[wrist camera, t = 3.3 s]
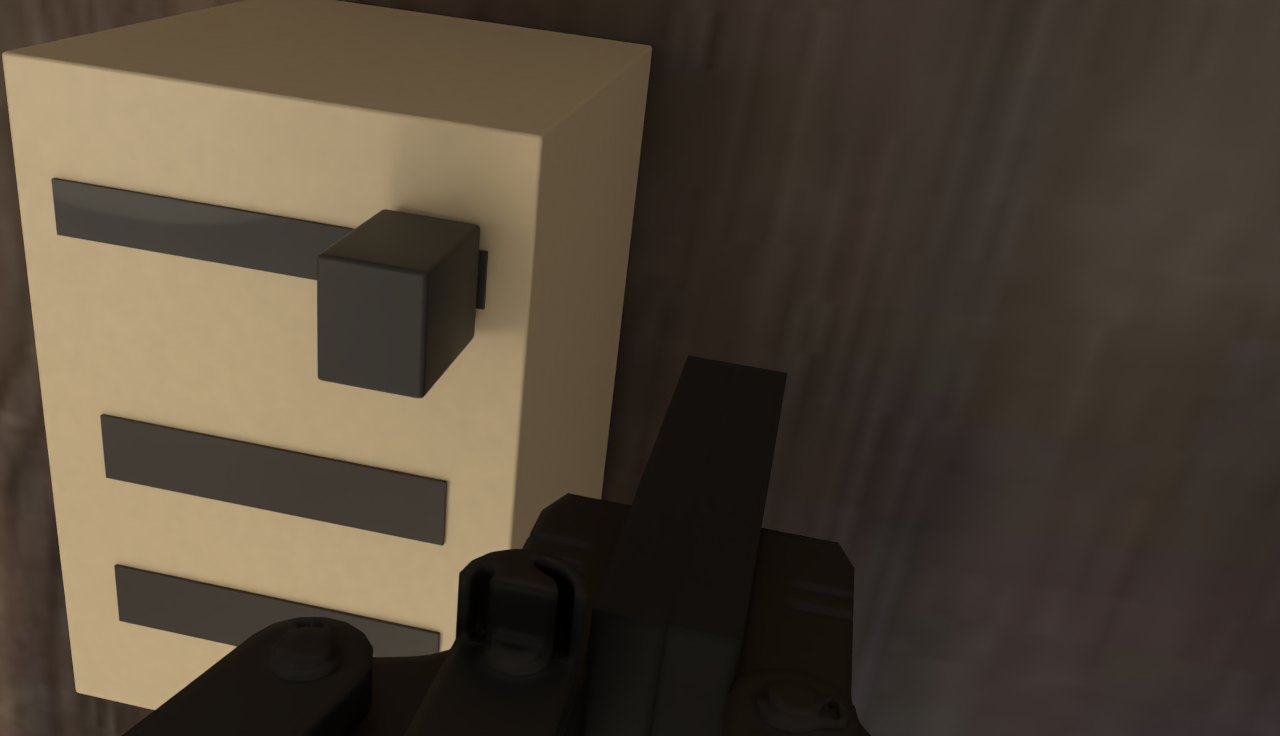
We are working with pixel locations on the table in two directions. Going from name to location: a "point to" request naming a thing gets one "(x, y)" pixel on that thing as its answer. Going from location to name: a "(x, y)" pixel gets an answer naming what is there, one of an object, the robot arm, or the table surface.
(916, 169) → the table surface
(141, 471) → the toaster
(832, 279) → the table surface
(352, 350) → the button
